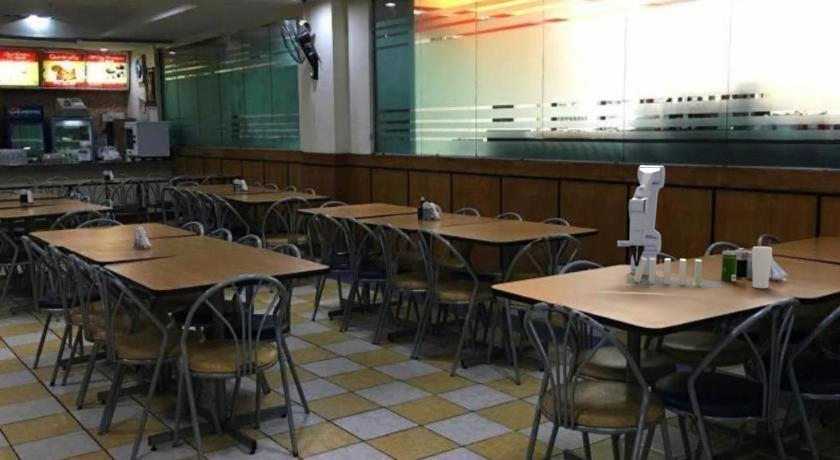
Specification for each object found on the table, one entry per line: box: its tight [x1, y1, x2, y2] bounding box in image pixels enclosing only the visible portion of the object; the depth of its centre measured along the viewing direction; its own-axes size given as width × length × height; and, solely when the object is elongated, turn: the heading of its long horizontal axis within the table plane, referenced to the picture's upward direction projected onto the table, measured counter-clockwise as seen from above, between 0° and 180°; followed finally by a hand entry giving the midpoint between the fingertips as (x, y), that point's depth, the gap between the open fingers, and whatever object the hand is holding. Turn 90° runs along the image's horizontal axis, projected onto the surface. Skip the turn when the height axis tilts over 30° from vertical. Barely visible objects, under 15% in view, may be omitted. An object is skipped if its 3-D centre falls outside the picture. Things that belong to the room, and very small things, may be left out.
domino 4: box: [678, 258, 687, 285], centre depth 306 cm, size 2×5×9 cm, turn 167°
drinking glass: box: [751, 245, 773, 289], centre depth 302 cm, size 7×7×15 cm
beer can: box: [720, 249, 738, 283], centre depth 312 cm, size 5×5×12 cm
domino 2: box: [648, 258, 657, 283], centre depth 308 cm, size 2×5×9 cm, turn 167°
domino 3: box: [663, 257, 672, 284], centre depth 307 cm, size 2×5×9 cm, turn 167°
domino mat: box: [626, 278, 723, 289], centre depth 307 cm, size 34×11×1 cm, turn 77°
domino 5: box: [693, 258, 703, 285], centre depth 304 cm, size 2×5×9 cm, turn 167°
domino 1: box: [633, 257, 647, 283], centre depth 309 cm, size 2×5×9 cm, turn 166°
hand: (636, 265), depth 309 cm, fingers closed
